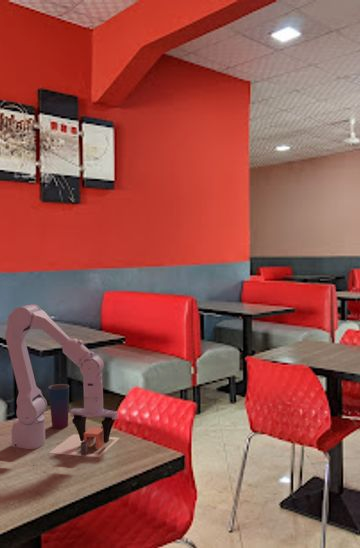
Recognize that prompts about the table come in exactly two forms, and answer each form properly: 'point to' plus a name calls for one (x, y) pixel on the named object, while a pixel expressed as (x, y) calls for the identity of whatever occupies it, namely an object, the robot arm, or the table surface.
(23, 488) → the table surface
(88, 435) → the orange u-shaped block
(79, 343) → the robot arm
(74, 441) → the pink flat square base
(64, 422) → the cup
